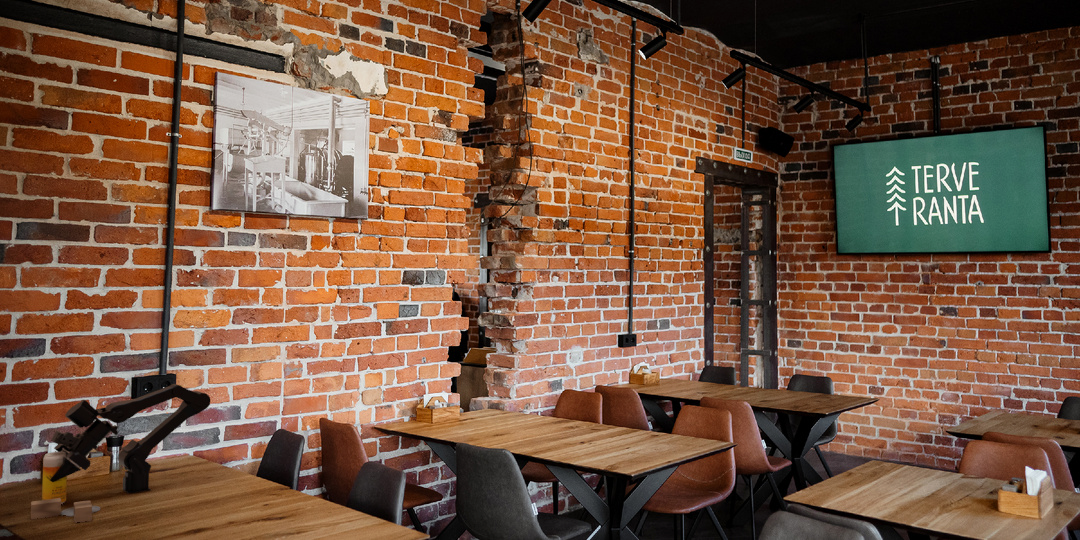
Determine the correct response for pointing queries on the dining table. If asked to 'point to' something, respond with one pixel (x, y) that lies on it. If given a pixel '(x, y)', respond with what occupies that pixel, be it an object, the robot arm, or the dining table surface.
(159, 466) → the dining table surface
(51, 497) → the beer can
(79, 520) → the beam vee
